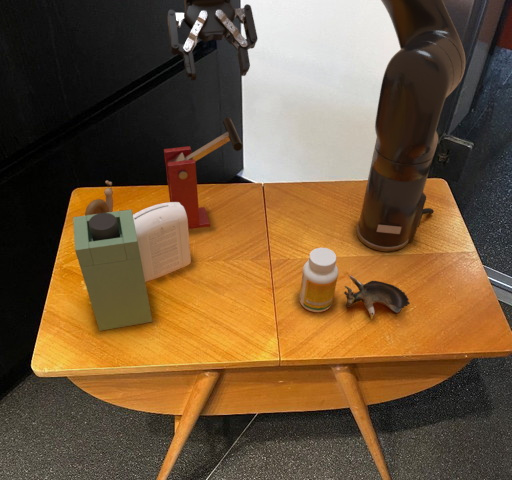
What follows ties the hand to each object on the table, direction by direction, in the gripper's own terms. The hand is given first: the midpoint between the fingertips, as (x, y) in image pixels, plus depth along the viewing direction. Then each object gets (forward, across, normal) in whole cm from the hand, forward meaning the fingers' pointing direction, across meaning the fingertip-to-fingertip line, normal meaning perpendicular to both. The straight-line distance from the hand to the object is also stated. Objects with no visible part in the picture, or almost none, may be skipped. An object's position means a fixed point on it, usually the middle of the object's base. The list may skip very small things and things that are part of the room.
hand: (219, 76), depth 90 cm
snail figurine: (+25, -23, +6) cm, 34 cm away
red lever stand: (+22, -9, +8) cm, 25 cm away
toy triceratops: (+42, +16, -11) cm, 46 cm away
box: (+35, -22, -5) cm, 42 cm away
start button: (+25, -22, -15) cm, 37 cm away
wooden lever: (+13, -4, -1) cm, 13 cm away
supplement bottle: (+39, +8, -9) cm, 41 cm away
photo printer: (+30, -15, +1) cm, 33 cm away
